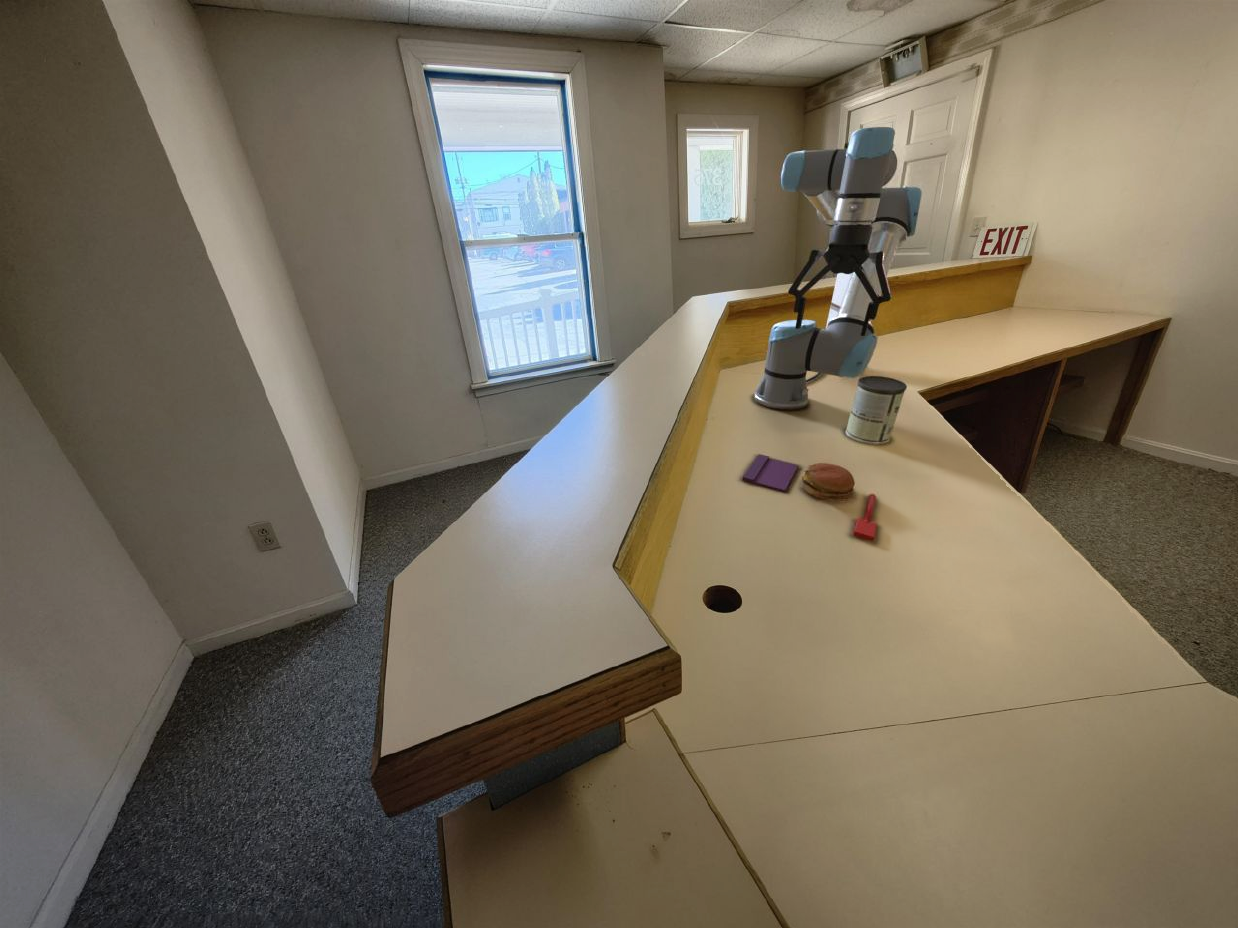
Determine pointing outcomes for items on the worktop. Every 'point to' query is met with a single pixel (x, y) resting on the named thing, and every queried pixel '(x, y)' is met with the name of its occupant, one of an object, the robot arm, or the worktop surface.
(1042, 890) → the worktop surface
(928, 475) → the worktop surface
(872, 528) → the red spatula
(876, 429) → the coffee can
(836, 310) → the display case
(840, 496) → the burger
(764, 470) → the cloth
